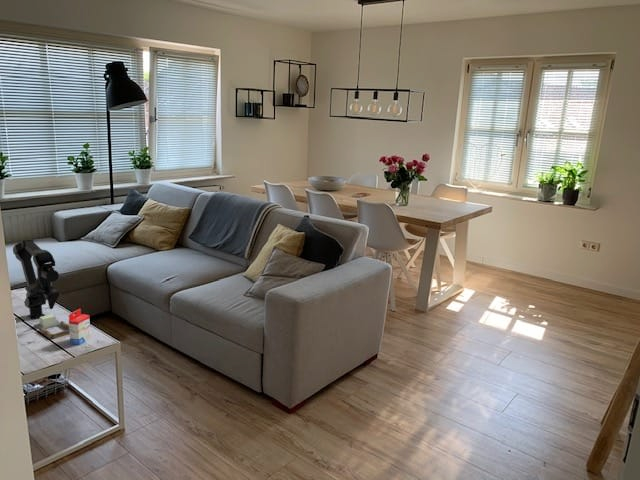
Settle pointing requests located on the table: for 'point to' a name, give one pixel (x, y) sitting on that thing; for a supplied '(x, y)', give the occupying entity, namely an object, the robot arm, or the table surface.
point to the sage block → (47, 320)
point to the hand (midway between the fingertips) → (47, 306)
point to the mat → (49, 325)
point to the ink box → (79, 327)
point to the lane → (56, 333)
